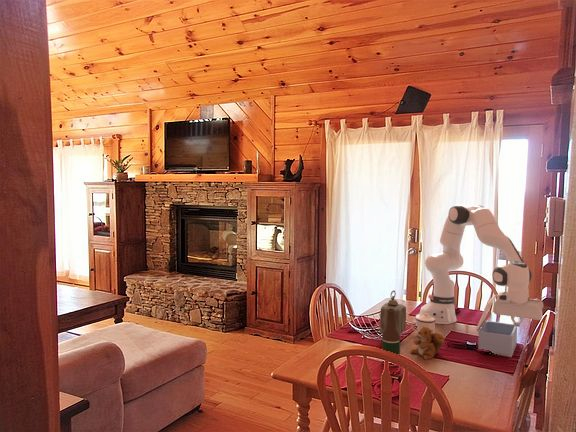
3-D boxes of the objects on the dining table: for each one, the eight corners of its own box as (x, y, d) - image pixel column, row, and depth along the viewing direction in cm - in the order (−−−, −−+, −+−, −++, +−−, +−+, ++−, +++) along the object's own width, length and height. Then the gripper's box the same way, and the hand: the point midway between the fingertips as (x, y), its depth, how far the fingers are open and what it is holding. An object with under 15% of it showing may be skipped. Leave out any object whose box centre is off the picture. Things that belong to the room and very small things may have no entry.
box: (511, 357, 205) (512, 336, 205) (478, 351, 213) (478, 331, 212) (516, 344, 222) (517, 325, 221) (485, 339, 230) (486, 320, 229)
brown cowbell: (389, 334, 238) (389, 287, 236) (406, 337, 233) (407, 288, 232) (379, 342, 226) (380, 292, 224) (397, 345, 221) (398, 294, 219)
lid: (490, 304, 209) (487, 302, 210) (477, 331, 213) (475, 330, 213) (496, 295, 226) (494, 294, 226) (485, 321, 229) (482, 320, 230)
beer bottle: (396, 368, 193) (397, 312, 191) (378, 365, 197) (379, 310, 196) (402, 362, 199) (402, 308, 198) (385, 359, 204) (385, 306, 202)
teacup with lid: (434, 333, 239) (435, 311, 238) (435, 339, 230) (436, 316, 229) (410, 332, 242) (411, 310, 241) (411, 337, 233) (411, 315, 232)
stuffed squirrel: (408, 352, 211) (409, 324, 211) (433, 348, 216) (434, 321, 216) (422, 360, 202) (422, 331, 201) (448, 356, 207) (448, 327, 206)
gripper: (544, 298, 209) (542, 328, 210) (495, 292, 220) (494, 320, 221) (543, 301, 203) (541, 331, 204) (493, 295, 214) (492, 324, 215)
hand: (516, 326), depth 213 cm, fingers closed
